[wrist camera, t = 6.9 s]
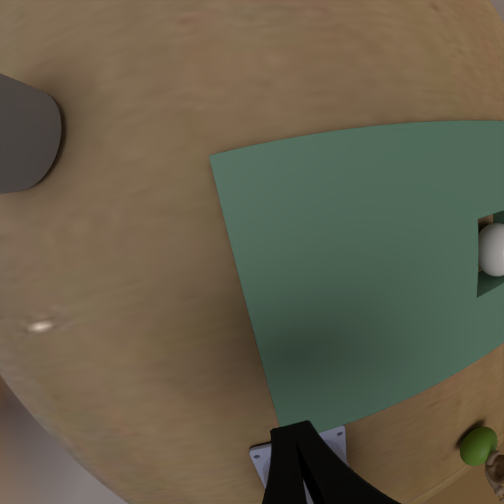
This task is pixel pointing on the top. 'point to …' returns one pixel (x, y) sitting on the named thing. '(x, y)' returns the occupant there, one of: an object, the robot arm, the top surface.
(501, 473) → the snail figurine
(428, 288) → the putting board
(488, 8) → the top surface
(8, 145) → the beverage can
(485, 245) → the ball
